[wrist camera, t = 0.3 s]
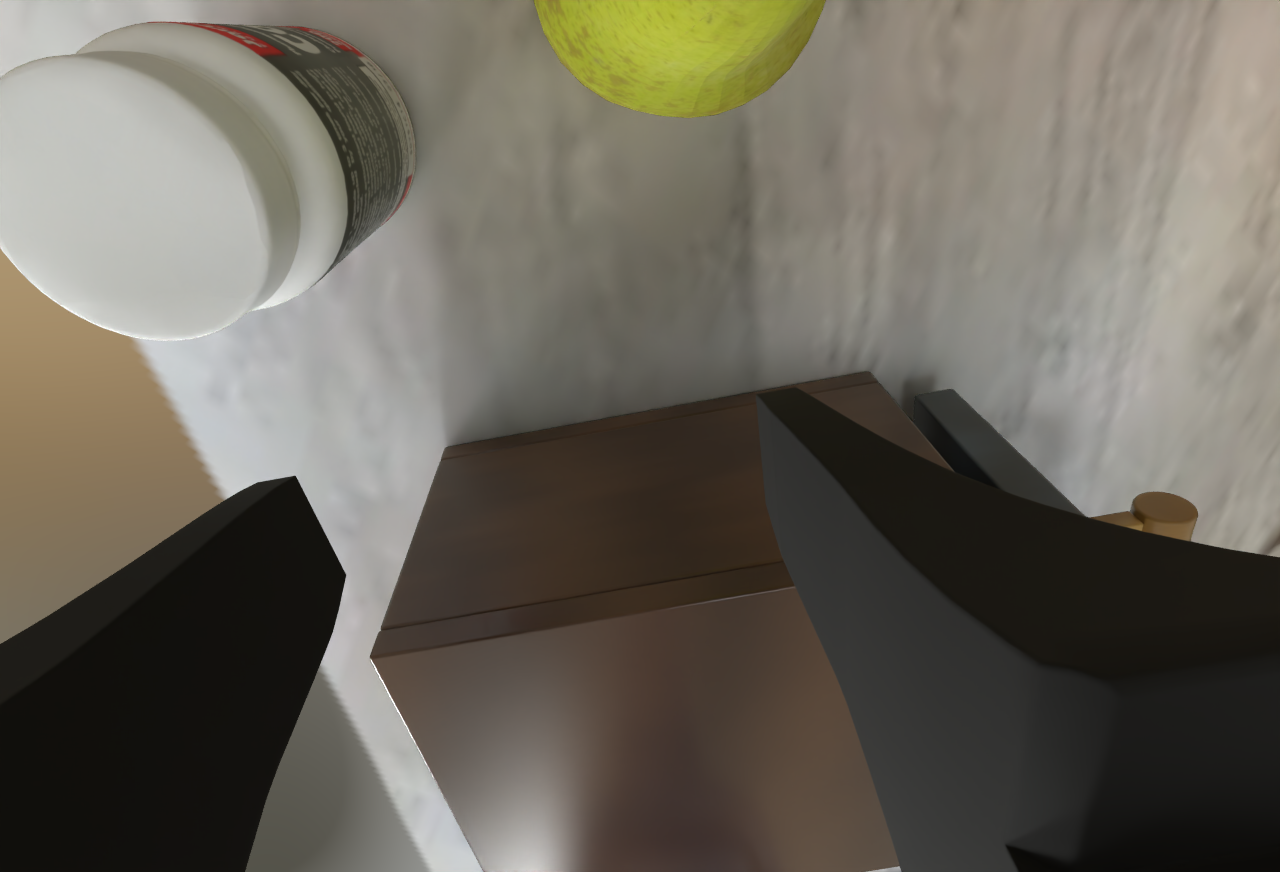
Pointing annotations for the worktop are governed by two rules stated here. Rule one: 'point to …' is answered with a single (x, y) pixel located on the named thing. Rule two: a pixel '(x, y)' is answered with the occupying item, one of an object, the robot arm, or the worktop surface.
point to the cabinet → (631, 651)
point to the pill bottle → (195, 171)
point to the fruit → (678, 49)
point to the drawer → (1029, 467)
